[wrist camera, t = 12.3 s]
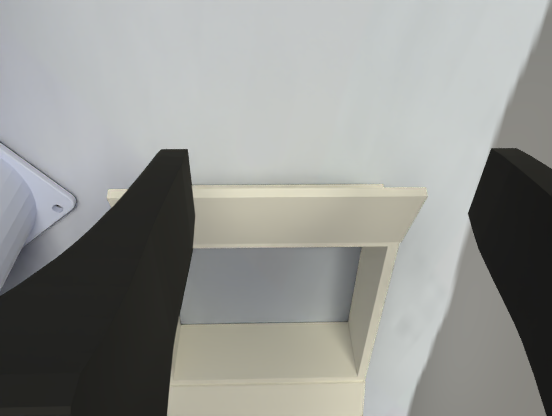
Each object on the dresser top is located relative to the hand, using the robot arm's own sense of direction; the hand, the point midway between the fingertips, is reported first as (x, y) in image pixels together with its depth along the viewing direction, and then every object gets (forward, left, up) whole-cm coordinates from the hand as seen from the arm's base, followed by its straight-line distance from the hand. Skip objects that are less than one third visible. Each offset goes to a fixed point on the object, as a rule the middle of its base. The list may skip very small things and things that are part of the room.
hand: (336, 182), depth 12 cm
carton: (-10, -10, -10) cm, 18 cm away
